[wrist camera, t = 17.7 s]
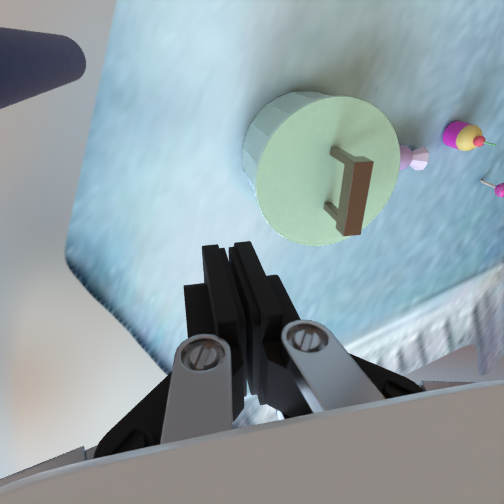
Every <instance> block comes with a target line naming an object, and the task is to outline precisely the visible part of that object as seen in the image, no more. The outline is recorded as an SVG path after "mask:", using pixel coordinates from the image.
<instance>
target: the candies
mask: <svg viewBox="0 0 504 504" xmlns="http://www.w3.org/2000/svg"><path fill="white" fill-rule="evenodd" d="M443 142H444V143H445V144H446V145H447V146H450V147H453V148H456V149H459V150H462V151H469V150H472V149H474V148H476V147H479V146H482V145H483V144H484V143H485V144H489V145H494V146H496V144H492V143H487V142H485V138H484V137H483V134H482V131H481V129H480V128H479V127H478V126H476V125H472V124H468V123H464V122H460V121H455V122H453V123H451V124H450V125H449V126H448V127H447V128H446V129H445V131H444V134H443ZM399 146H400V168H399V170H403V169H405V168H407V167H408V166H411V167H412V168H413V169H415V170H416V171H419V170H423V169H424V168H425V166H426V165H427V163H428V159H429V152H428V150H427V149H426V148H425V146H424V147H420V148H417V149H415V150H413V151H411V150H410V148H408V147H407V146H405V145H399ZM480 182H482V183H484V184H487V185H489V186H491V187H494V188H495V194H496V195H497V196H498V197H504V183H501V184H499V185H497V186H495V185H493V184H490V183H488V182H486V181H483V180H480Z"/></svg>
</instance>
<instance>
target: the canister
mask: <svg viewBox="0 0 504 504" xmlns="http://www.w3.org/2000/svg"><path fill="white" fill-rule="evenodd" d="M326 96H329V95H325V94H322V93H318V92H307V91H299V92H291V93H288V94H285V95H282V96H280V97H278V98H276V99H274V100H272V101H271V102H270V103H268V104H267V105H266V106H264V107H263V108H262V109H261V110H260V111H259V112H258V114H257V115H256V116H255V117H254V119H253V121H252V122H251V124H250V125H249V128H248V130H247V132H246V135H245V138H244V141H243V147H242V165H243V171H244V173H245V176H246V178H247V180H248V182H249V185H250V187H251V189H252V191H253V192H254V194H255V183H254V181H255V171H256V166H257V161H258V158H259V155H260V152H261V150H262V148H263V146H264V144H265V142H266V140H267V139H268V137H269V136H270V134H271V132H272V131H273V130H274V129H275V127H276V126H277V125H278V124H279V123H280V122H281V121H282V120H283V119H284V118H285V117H286V116H287V115H288V114H290V113H291V112H292V111H294V110H295V109H297V108H298V107H300V106H302V105H304V104H305V103H308V102H310V101H313V100H315V99H318V98H322V97H326ZM255 195H256V194H255Z"/></svg>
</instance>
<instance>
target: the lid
mask: <svg viewBox="0 0 504 504" xmlns="http://www.w3.org/2000/svg"><path fill="white" fill-rule="evenodd" d="M399 168H400V146H399V142H398V137H397V135H396V132H395V130H394V127H393V126H392V124H391V122H390V120H389V119H388V118H387V117H386V116H385V114H384V113H383V112H382V111H380V110H379V109H378V108H377V107H376V106H374V105H372V104H371V103H369V102H367V101H364V100H362V99H359V98H355V97H350V96H341V95H336V96H326V97H322V98H318V99H315V100H313V101H310V102H308V103H305V104H304V105H302V106H300V107H298V108H297V109H295V110H294V111H292V112H291V113H290V114H288V115H287V116H286V117H285V118H284V119H283V120H282V121H281V122H280V123H279V124H278V125H277V126H276V127H275V129H274V130H273V131H272V132H271V134H270V136H269V137H268V139H267V140H266V142H265V144H264V146H263V148H262V150H261V152H260V155H259V158H258V161H257V166H256V171H255V181H254V183H255V194H256V200H257V203H258V206H259V209H260V211H261V213H262V215H263V217H264V218H265V220H266V221H267V223H268V224H269V225H270V227H271V228H272V229H273V230H274V231H275V232H277V233H278V234H279V235H281V236H282V237H284V238H286V239H287V240H289V241H292V242H295V243H297V244H302V245H309V246H322V245H328V244H333V243H336V242H339V241H342V240H344V239H347V238H349V237H351V236H352V235H360V234H361V230H362V229H363V228H364V227H366V226H367V225H368V224H369V223H370V222H371V221H372V220H373V219H374V218H375V217H376V216H377V215H378V214H379V213H380V211H381V210H382V209H383V208H384V206H385V204H386V203H387V201H388V200H389V198H390V196H391V194H392V192H393V189H394V187H395V184H396V181H397V178H398V174H399Z"/></svg>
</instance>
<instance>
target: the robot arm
mask: <svg viewBox="0 0 504 504" xmlns="http://www.w3.org/2000/svg"><path fill="white" fill-rule="evenodd" d="M202 256H203V270H204V283H201V284H193V285H184V297H185V308H186V320H187V332H188V339H186V340H185V341H183V342H182V343H181V344H180V345H179V347H178V348H177V350H176V353H175V357H174V363H173V369H172V372H171V373H170V374H169V375H168V376H167V377H166V378H165V379H164V380H163V381H162V382H160V384H158V385H157V386H156V387H155V388H154V389H153V390H152V391H151V392H150V393H149V394H148V395H147V396H146V397H145V398H144V399H143V400H141V401H140V402H139V403H138V404H137V405H136V406H135V407H134V408H133V409H132V410H131V411H130V412H129V413H128V414H127V415H126V416H125V417H124V418H122V420H120V421H119V422H118V423H117V424H116V425H115V426H114V427H113V428H112V429H111V430H110V431H109V432H108V433H107V434H106V435H105V436H104V437H103V439H102V440H101V441H100V442H99V444H98V445H97V446H95V447H92V448H90V449H87V450H85V448H84V446H82V447H80V448H77V449H75V450H72V451H70V452H67V453H65V454H62V455H60V456H57V457H55V458H53V459H50V460H47V461H45V462H42V463H40V464H37V465H35V466H32V467H30V468H27V469H24V470H22V471H19V472H17V473H14V474H12V475H9V476H7V477H5V478H2V479H0V504H504V380H496V381H488V382H479V383H478V382H443V381H421V383H420V385H417V384H415V382H413V381H411V380H409V379H408V378H406V377H404V376H401V375H399V374H397V373H394V372H392V371H390V370H387V369H385V368H382V367H380V366H378V365H375V364H373V363H371V362H368V361H366V360H364V359H361V358H359V357H356V356H354V355H352V354H349V353H348V352H347V351H346V350H345V348H344V347H343V346H342V345H341V343H340V342H339V341H338V340H337V339H336V337H335V336H334V335H333V334H332V332H331V331H330V330H329V329H328V328H326V327H325V326H324V325H322V324H320V323H318V322H315V321H312V320H301V319H300V317H299V315H298V313H297V311H296V309H295V307H294V306H293V304H292V302H291V300H290V298H289V296H288V294H287V292H286V290H285V288H284V286H283V284H282V282H281V280H280V278H279V276H278V275H269V276H266V275H265V272H264V270H263V268H262V266H261V263H260V261H259V259H258V257H257V255H256V252H255V250H254V248H253V246H252V243H251V242H250V241H247V242H237V243H234V247H229V261H228V258H227V254H226V251H225V248H219V246H218V244H217V245H206V246H202ZM247 381H248V385H249V389H250V393H251V395H256V394H257V395H258V399H259V403H260V405H264V404H267V405H269V406H271V407H273V408H275V409H276V415H277V418H278V421H273V422H268V423H263V424H258V425H253V426H248V427H243V428H238V429H233V422H234V421H235V419H236V418H237V417H238V415H239V414H240V413H241V411H242V410H243V409H244V397H245V396H246V395H247Z"/></svg>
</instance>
